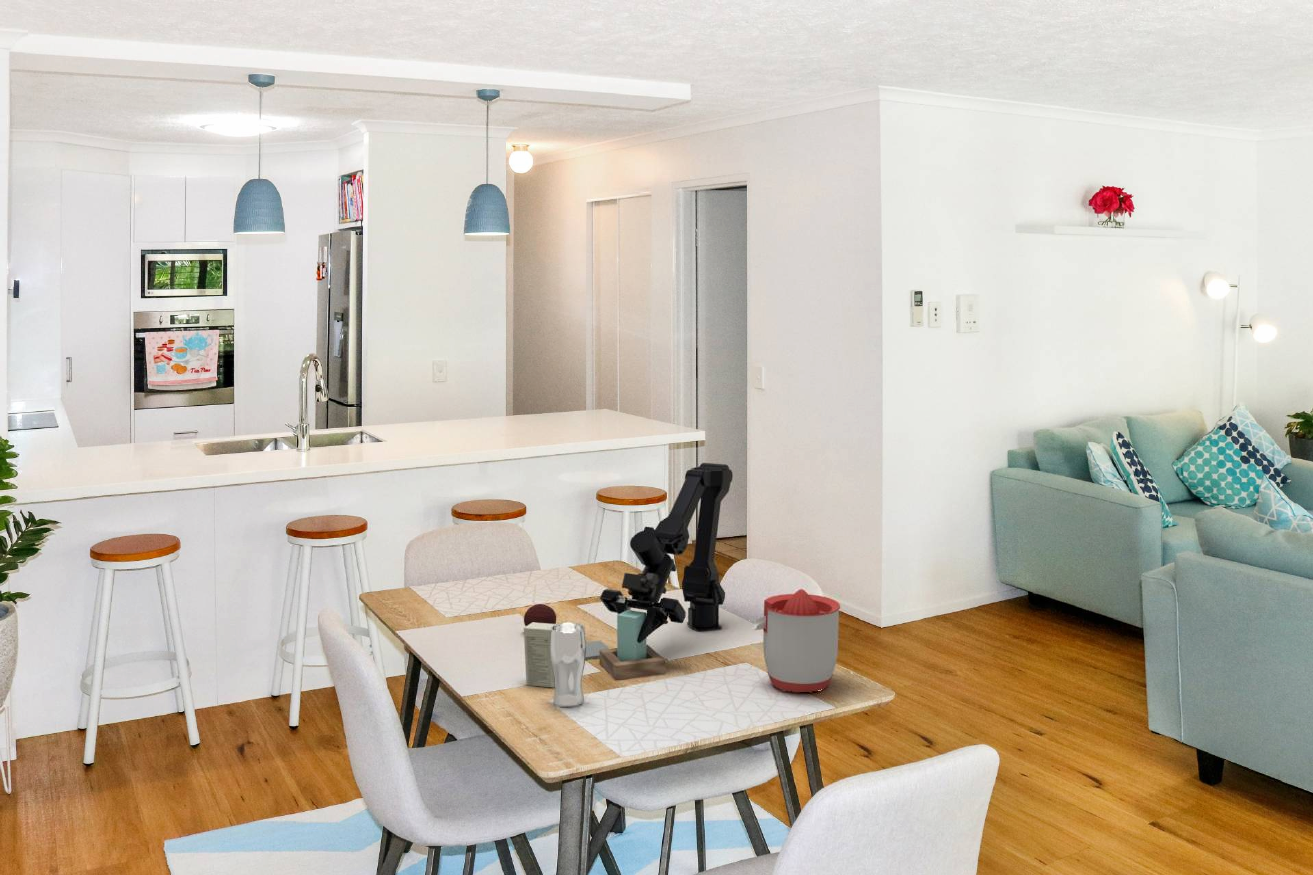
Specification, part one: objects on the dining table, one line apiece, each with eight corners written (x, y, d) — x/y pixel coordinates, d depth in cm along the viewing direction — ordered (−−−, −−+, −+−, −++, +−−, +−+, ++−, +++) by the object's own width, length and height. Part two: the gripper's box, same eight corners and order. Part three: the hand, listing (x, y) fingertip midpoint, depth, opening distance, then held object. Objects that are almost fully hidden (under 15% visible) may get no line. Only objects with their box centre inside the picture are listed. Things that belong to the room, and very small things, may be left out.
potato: (551, 639, 256) (551, 609, 255) (519, 637, 257) (519, 607, 256) (560, 629, 263) (560, 600, 262) (529, 627, 264) (529, 599, 263)
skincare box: (561, 681, 228) (561, 623, 226) (553, 688, 223) (552, 629, 222) (533, 678, 230) (532, 620, 228) (524, 684, 226) (523, 626, 224)
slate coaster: (600, 642, 253) (600, 640, 253) (614, 656, 243) (614, 653, 243) (558, 647, 249) (558, 645, 249) (570, 661, 240) (570, 658, 240)
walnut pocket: (647, 657, 242) (647, 644, 242) (665, 673, 232) (665, 659, 232) (599, 663, 239) (599, 650, 238) (615, 679, 228) (615, 665, 228)
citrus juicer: (750, 671, 234) (751, 578, 231) (833, 671, 233) (835, 579, 231) (755, 697, 218) (756, 599, 216) (843, 698, 218) (845, 599, 215)
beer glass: (551, 696, 219) (549, 622, 217) (586, 694, 220) (585, 621, 218) (550, 709, 212) (549, 633, 210) (586, 707, 213) (586, 632, 211)
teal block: (628, 663, 238) (628, 609, 237) (646, 667, 236) (646, 612, 235) (617, 669, 235) (617, 614, 233) (635, 673, 232) (635, 617, 231)
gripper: (603, 552, 240) (576, 614, 232) (679, 562, 231) (653, 627, 223) (622, 579, 248) (596, 640, 240) (696, 590, 239) (672, 654, 231)
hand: (628, 640), depth 233 cm, fingers closed on teal block, 4 cm apart
